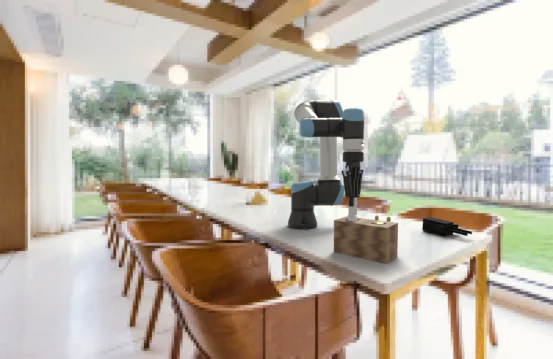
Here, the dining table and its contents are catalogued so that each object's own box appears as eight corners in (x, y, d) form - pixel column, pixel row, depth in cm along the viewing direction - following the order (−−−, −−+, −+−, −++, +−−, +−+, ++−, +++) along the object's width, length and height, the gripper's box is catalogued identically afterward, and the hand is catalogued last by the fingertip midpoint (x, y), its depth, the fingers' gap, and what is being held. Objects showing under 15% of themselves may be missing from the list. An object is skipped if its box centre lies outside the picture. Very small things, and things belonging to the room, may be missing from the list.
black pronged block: (476, 239, 133) (433, 229, 151) (477, 225, 133) (434, 216, 150) (461, 243, 128) (418, 231, 145) (462, 228, 127) (419, 218, 145)
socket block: (333, 251, 116) (333, 220, 115) (346, 246, 123) (346, 216, 122) (386, 263, 102) (387, 227, 102) (397, 256, 110) (398, 222, 109)
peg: (346, 241, 116) (346, 215, 115) (350, 240, 118) (350, 214, 117) (354, 243, 113) (354, 216, 113) (358, 241, 116) (358, 215, 115)
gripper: (354, 150, 106) (353, 218, 107) (370, 151, 116) (369, 213, 117) (335, 151, 111) (334, 216, 112) (352, 151, 121) (351, 211, 122)
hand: (352, 214), depth 115 cm, fingers closed
